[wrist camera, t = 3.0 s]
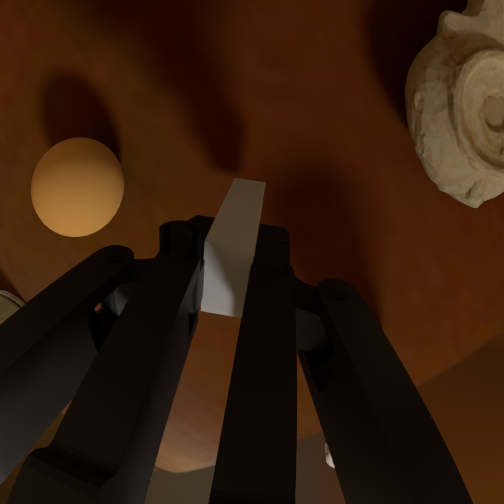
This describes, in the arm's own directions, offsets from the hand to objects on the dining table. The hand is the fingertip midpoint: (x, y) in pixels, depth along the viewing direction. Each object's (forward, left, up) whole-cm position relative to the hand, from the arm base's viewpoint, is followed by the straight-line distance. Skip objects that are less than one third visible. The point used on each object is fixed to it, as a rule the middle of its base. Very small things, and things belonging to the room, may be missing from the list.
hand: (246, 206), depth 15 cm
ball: (+9, 0, 0) cm, 9 cm away
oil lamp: (-11, -10, -3) cm, 15 cm away
